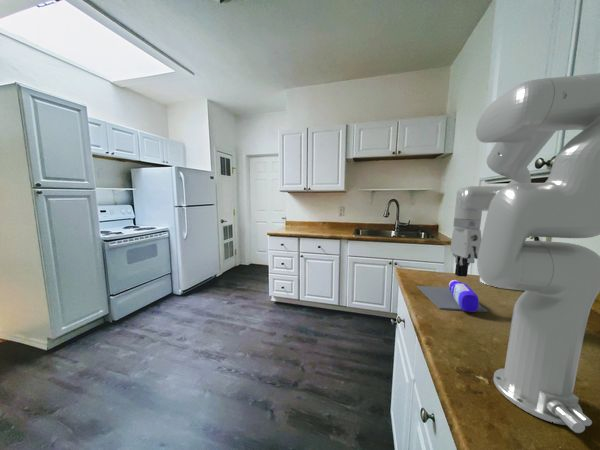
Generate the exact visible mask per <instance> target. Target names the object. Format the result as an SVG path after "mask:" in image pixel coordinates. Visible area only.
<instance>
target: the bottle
mask: <svg viewBox="0 0 600 450" xmlns="http://www.w3.org/2000/svg"><path fill="white" fill-rule="evenodd" d="M448 286H449V287H450V291H451V293H452V296H453V298H454V299H455V301H456V302H457V303H458V305H459V306H460V308H461V309H462V310H464V311H463V312H470V313H472V312H473V313H474V312H477V309H478V307H479V305H480V300H479V297H478V295H477V292H475V291H474V290H472V288H471V287H470V286H469V285H468V284H467V283H464V282H462V281H458V280H456V279H453V280H450V282H449V283H448Z"/></svg>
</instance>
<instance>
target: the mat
mask: <svg viewBox="0 0 600 450" xmlns="http://www.w3.org/2000/svg"><path fill="white" fill-rule="evenodd" d="M416 288H417V289H418V290H419V291H421V293H422V294H423V295H425V297H426V298H427V299H429V300H430V302H431V303H433V305H435V306H436V308H437V309H439V310H445V311H448V310H449V311H460V312H462V311H463V312H465V311H464V310H462V309H461V308H460V306H459V305H458V303H457V302H456V301H455V299H454V298H453V296H452V293H451V291H450V286H449V287H448V286H447V287H446V286H445V287H444V286H430V285H429V286H426V285H417V286H416ZM476 312H477V313H479V312H480V313H488V312H489V310H488V309H487V308H485V307H484V306H482V305H481V304H479V307H478V309H477V311H476Z"/></svg>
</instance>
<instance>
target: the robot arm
mask: <svg viewBox="0 0 600 450" xmlns="http://www.w3.org/2000/svg"><path fill="white" fill-rule="evenodd" d="M475 129H476V130H475V134H476V138H477V140H478V141H479V142H481V143H485V144H487V143H488V144H492V143H495V144H494V146H493V147H492V149H491V151H490V152H489V154H488V155H487V157H486V165H487V166H488V168H489V169H490V170H491V171H492V172H494V173H496V174H498V175H500V176H502V177H505V178H507V179H510V181H509V183H508V184H507V185H505V186H503V185H502V186H501V185H500V186H496V185H494V186H490V185H485V186H483V185H481V186H480V185H479V186H473V185H472V186H466V187H461V188H459V189H457V192H456V197H455V198H456V200H455V206H454V207H455V209H454V218H453V226H452V227H453V230H452V235H451V240H450V252H451V253H452V256H453V257H454V258H455V259H454V260H455V261H454V262H455V269H454V275H455V276H457V277H466V278H467V277H468V272H469V266H470V264H475V261H476V269H477V273H478V276H479V278H480V277H481V279H482V280H483V281H484V282H485V283H487V284H489V285H491V286H494V287H498V288H497V289H506V290H515V291H516V290H517V291H524V292H522V294H521V295H520V296H519V297H518V299H517V300H516V302H515V304H514V306H513V310H512V316H511V322H510V323H511V324H510V331H509V337H508V343H507V350H506V357H505V365H504V367H503V368H502V367H501V368H499V369H497V370H495V371H494V373H493V379H492V380H493V383H494V385H495V387H496V389H497V390H498V391H499V392H500V394H501V395H503V396H504V397H505V398H506V399H507V400H509V401H510V402H511V403H512V404H514V405H516V406H517V407H518V408H519V409H521V410H523V411H525V412H526V413H529V414H530V415H532V416H535V417H536V418H539V419H541V420H544V421H547V422H550V423H552V422H553V423H552V424H557V425H562V426H567V427H568V428H569V429H570V430H571V431H573V432H574V433H576V434H581V433H584V432H585V430H586V427H590V426H591V425H592V424H593V421H592V420H591V419H590V418H589V417H588V416H587V415H585V413H583V410H582V407H581V406H580V404H579V400H580V398H579V397H578V396H577V395H576V394H574V389H575V385H576V384H575V383H576V378H577V373H578V369H579V362H580V359H581V353H582V352H581V351H582V347H583V343H584V337H585V333H586V327H587V324H588V320H589V319H588V318H589V317H590V313H591V310H592V306H593V304H594V303H595V300H596V298H597V296H598V294H599V293H600V255H599V254H598V253H597V252H595V251H594V250H592V249H590V248H588V247H587V246H583V245H579V244H576V243H569V242H561V241H549V240H547V241H545V240H527V239H528V237H536V238H537V237H538V238H557V239H558V238H559V239H589V238H594V237H598V236H600V73H599V72H598V73H589V74H587V73H586V74H578V75H570V76H558V77H557V76H555V77H545V78H537V79H531V80H528V81H524V82H522V83H519V84H518V85H516V86H515V87H513V88H512V89H510V90H509V91H507V92H506V93H504V94H503V95H501V96H500V97H498V98H497V99H496V100H494V101H493V102H492V103H490V104H489V106H488V107H487V108H486V109H485V110H484V111H483V113H482V114H481V115H480V117H479V119H478V121H477V124H476V128H475ZM572 130H573V131H574V130H580V132H579V133H578V134H576V135H575V136H573V138H572V139H570V140H569V141H568V142H567V143H566V144H565V145H564V146H563V147H562V148H561V149H560V150H559V152H557V154H556V155H555V157H554V159H553V162H552V166H551V169H550V172H549V175H548V178H547V179H546V180H545V182H532V176H531V175H532V174H531V172H530V170H529V168H528V167H529V165H530V164H531V163H532V162H533V160H534V159H535V158H536V156H538V155H539V153H540V152H541V150H542V149H543V148H544V147H545V146H546V144H547V143H548V142H549V140H550V139H551V138H552V137H553V136H554V134H555V133H556V132H559V131H572ZM483 212H486V218H485V222H484V227H483V231H482V230H481V226H482V225H481V223H482V216H483ZM475 259H476V260H475ZM494 287H493V288H494Z"/></svg>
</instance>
